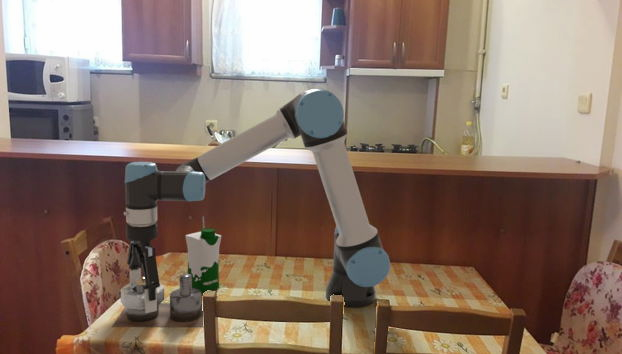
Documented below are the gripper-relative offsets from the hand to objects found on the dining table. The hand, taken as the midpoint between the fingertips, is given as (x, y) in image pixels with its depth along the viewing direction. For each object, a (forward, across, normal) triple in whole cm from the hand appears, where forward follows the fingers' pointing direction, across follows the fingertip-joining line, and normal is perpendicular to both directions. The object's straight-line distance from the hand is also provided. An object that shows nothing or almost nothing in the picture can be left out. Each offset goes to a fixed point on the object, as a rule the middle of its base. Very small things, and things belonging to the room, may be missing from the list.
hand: (143, 301), depth 126 cm
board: (+5, +2, +5) cm, 8 cm away
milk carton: (+6, -10, +21) cm, 24 cm away
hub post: (+4, 0, 0) cm, 4 cm away
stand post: (+4, +6, +10) cm, 12 cm away
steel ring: (0, 0, 0) cm, 0 cm away
